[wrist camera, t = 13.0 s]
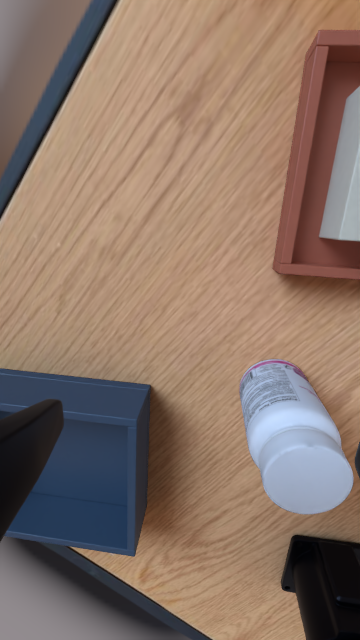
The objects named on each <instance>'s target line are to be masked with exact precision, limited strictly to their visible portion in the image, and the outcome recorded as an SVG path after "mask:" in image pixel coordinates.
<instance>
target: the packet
mask: <svg viewBox="0 0 360 640" xmlns="http://www.w3.org/2000/svg"><path fill="white" fill-rule="evenodd" d="M319 237H320V238H327V239H334V240H345V241H360V86H359V87H358V88H357V89H356V90H355V91H354V92H353V93H352V94H351V95H350V96H349V97H348V98H347V99H346V103H345V108H344V113H343V118H342V123H341V128H340V133H339V138H338V143H337V148H336V153H335V158H334V163H333V168H332V173H331V178H330V184H329V189H328V194H327V199H326V204H325V209H324V214H323V219H322V224H321V229H320V234H319Z"/></svg>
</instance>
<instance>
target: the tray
mask: <svg viewBox="0 0 360 640" xmlns="http://www.w3.org/2000/svg"><path fill="white" fill-rule="evenodd" d="M359 86H360V30H319V31H318V33H317V35H316V37H315V39H314V40H313V42H312V44H311V46H310V48H309V49H308V51H307V53H306V58H305V64H304V71H303V77H302V84H301V90H300V96H299V103H298V109H297V115H296V122H295V128H294V135H293V141H292V147H291V154H290V160H289V167H288V173H287V179H286V186H285V192H284V199H283V205H282V211H281V218H280V224H279V231H278V237H277V243H276V250H275V256H274V263H273V269H274V270H275V271H277V272H278V273H279V274H289V275H302V276H315V277H329V278H342V279H356V280H360V241H345V240H334V239H327V238H320V237H319V234H320V229H321V224H322V219H323V214H324V209H325V204H326V199H327V194H328V189H329V184H330V178H331V173H332V168H333V163H334V158H335V153H336V148H337V143H338V138H339V133H340V128H341V123H342V118H343V113H344V108H345V103H346V99H347V98H348V97H349V96H350V95H351V94H352V93H353V92H354V91H355V90H356V89H357V88H358V87H359Z"/></svg>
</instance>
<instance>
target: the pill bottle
mask: <svg viewBox="0 0 360 640" xmlns="http://www.w3.org/2000/svg"><path fill="white" fill-rule="evenodd" d="M240 399H241V404H242V410H243V417H244V423H245V429H246V436H247V442H248V448H249V451H250V454H251V457H252V459H253V461H254V462H255V464H256V465H257V467H258V468H259V469H260V472H261V477H262V482H263V486H264V489H265V491H266V493H267V495H268V496H269V498H270V499H271V500H272V501H273V502H274V503H275V504H277V505H278V506H279V507H281V508H283V509H285V510H287V511H290V512H293V513H298V514H317V513H322V512H325V511H329V510H331V509H333V508H335V507H337V506H338V505H339V504H341V503H342V502H343V501H344V500H345V499H346V498H347V496H348V495H349V493H350V491H351V489H352V486H353V472H352V469H351V466H350V464H349V462H348V461H347V459H346V457H345V455H344V453H343V451H342V449H341V438H340V434H339V431H338V429H337V427H336V425H335V423H334V422H333V420H332V418H331V417H330V415H329V413H328V412H327V410H326V409H325V407H324V405H323V404H322V402H321V401H320V399H319V397H318V396H317V394H316V392H315V391H314V389H313V388H312V386H311V385H310V383H309V381H308V380H307V378H306V377H305V375H304V374H303V372H302V371H301V370H300V369H299V368H298V367H297V366H295V365H294V364H292V363H290V362H288V361H285V360H280V359H270V360H264V361H261V362H258V363H256V364H254V365H253V366H251V367H250V368H249V369H248V370H247V371H246V372H245V374H244V375H243V377H242V379H241V382H240Z"/></svg>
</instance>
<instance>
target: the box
mask: <svg viewBox="0 0 360 640" xmlns="http://www.w3.org/2000/svg"><path fill="white" fill-rule="evenodd" d="M150 390H151V386H150V385H147V384H137V383H128V382H119V381H110V380H101V379H92V378H82V377H73V376H64V375H55V374H46V373H37V372H27V371H18V370H9V369H0V419H3V418H5V417H7V416H9V415H12V414H14V413H16V412H19V411H21V410H23V409H25V408H28V407H30V406H32V405H34V404H37V403H39V402H41V401H43V400H46V399H57V400H60V401H62V405H63V417H64V426H63V429H62V432H61V434H60V436H59V438H58V440H57V442H56V444H55V446H54V448H53V450H52V453H51V455H50V457H49V459H48V461H47V463H46V465H45V467H44V469H43V471H42V473H41V475H40V477H39V479H38V480H37V482H36V484H35V485H34V487H33V489H32V490H31V492H30V494H29V495H28V497H27V499H26V500H25V502H24V504H23V505H22V507H21V508H20V510H19V512H18V513H17V515H16V517H15V518H14V520H13V522H12V523H11V525H10V527H9V528H8V530H7V531H6V533H5V535H4V536H7V537H14V538H21V539H26V540H33V541H39V542H45V543H52V544H58V545H64V546H71V547H77V548H83V549H89V550H96V551H102V552H108V553H115V554H121V555H127V556H135V554H136V550H137V545H138V541H139V537H140V533H141V528H142V524H143V520H144V516H145V511H146V507H147V484H148V453H149V421H150Z"/></svg>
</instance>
